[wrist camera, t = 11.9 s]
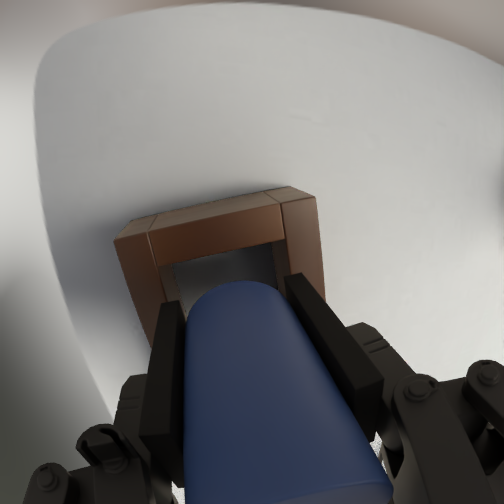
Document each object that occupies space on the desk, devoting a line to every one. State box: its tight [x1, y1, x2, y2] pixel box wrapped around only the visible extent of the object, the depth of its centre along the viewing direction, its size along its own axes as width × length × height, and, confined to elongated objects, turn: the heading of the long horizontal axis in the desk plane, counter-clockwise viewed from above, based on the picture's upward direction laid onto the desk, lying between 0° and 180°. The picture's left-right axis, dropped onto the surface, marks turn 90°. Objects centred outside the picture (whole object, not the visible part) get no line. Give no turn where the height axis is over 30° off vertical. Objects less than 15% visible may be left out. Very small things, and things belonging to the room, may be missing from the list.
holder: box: [113, 186, 326, 349], centre depth 16 cm, size 8×15×4 cm, turn 10°
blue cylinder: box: [183, 281, 394, 504], centre depth 8 cm, size 4×4×8 cm
